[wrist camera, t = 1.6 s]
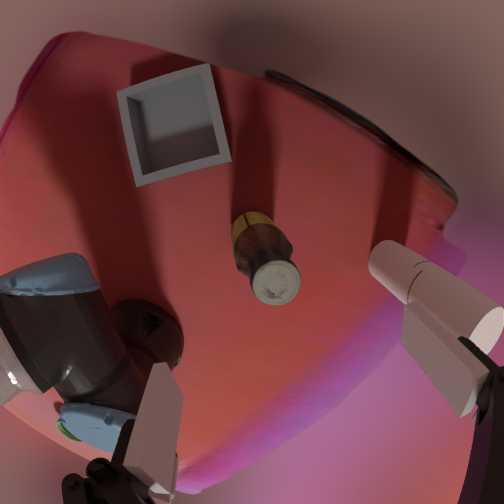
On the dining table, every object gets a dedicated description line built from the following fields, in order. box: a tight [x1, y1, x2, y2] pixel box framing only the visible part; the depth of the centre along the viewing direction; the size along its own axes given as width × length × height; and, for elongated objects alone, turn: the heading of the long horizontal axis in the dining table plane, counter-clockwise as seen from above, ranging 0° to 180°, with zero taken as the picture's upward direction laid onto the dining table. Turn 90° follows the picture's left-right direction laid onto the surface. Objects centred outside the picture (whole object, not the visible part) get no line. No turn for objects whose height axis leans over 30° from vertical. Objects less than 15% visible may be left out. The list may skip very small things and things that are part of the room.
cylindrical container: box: [368, 240, 504, 355], centre depth 32 cm, size 7×7×25 cm
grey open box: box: [117, 63, 232, 187], centre depth 33 cm, size 12×13×6 cm
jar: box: [148, 456, 178, 504], centre depth 49 cm, size 10×10×18 cm
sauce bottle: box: [231, 211, 301, 305], centre depth 32 cm, size 6×6×20 cm
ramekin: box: [56, 418, 83, 442], centre depth 51 cm, size 9×9×4 cm
